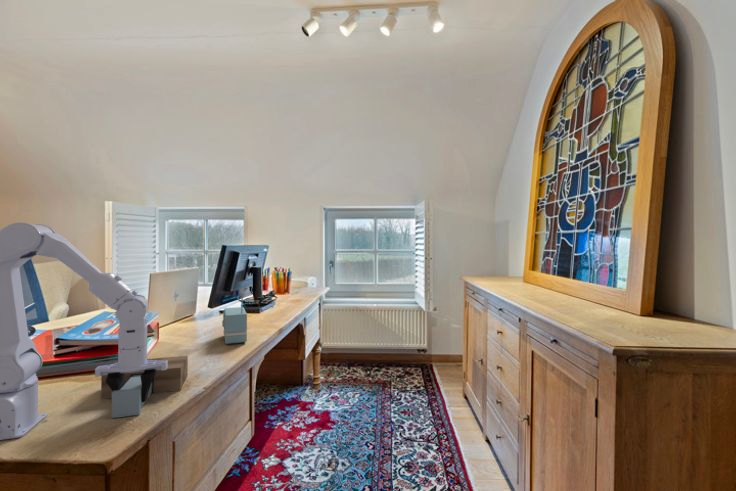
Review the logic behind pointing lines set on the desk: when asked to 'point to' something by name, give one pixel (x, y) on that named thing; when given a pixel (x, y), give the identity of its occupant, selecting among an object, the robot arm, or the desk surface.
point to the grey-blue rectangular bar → (129, 398)
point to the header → (158, 377)
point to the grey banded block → (235, 324)
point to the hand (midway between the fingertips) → (132, 401)
